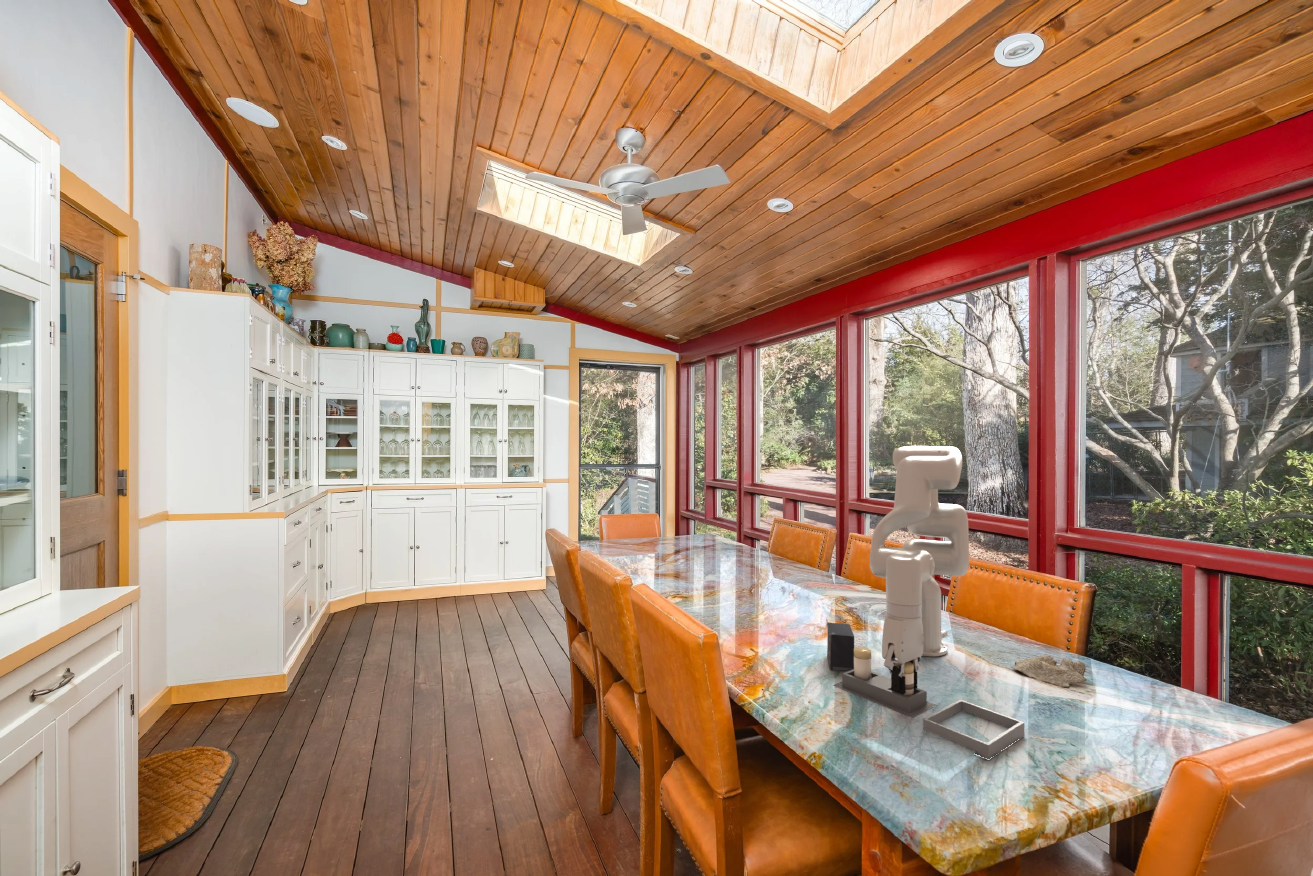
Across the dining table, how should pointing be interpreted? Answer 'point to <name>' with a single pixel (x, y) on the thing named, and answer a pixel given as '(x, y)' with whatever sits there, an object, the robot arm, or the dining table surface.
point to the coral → (1052, 670)
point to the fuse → (862, 663)
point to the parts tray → (981, 747)
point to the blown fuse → (908, 678)
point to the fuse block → (885, 693)
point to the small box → (840, 647)
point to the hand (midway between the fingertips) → (904, 688)
